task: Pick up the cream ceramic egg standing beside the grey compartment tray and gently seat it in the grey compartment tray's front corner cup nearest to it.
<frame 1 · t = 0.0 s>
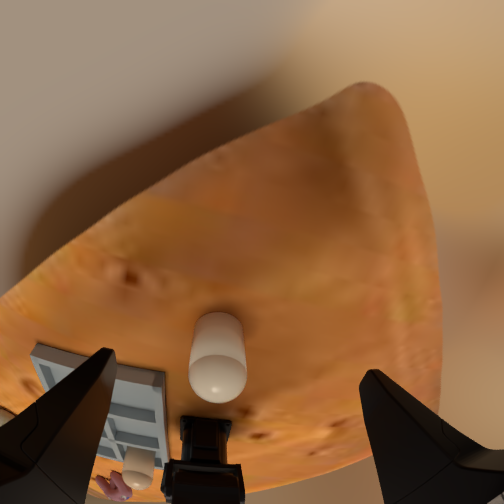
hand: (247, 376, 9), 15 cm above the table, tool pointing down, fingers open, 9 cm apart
sea urchin shell: (15, 419, 35), on the table
video game controller: (115, 476, 43), on the table
beige rounded cylinder: (141, 447, 35), resting on grey compartment tray
grey compartment tray: (73, 376, 28), on the table
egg: (218, 331, 27), on the table
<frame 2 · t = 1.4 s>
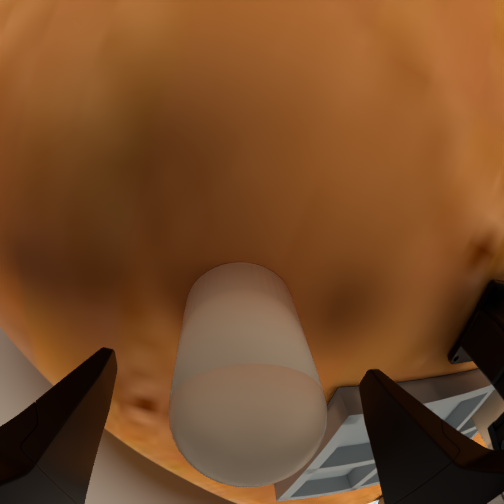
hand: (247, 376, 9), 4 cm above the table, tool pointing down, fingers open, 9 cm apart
beige rounded cylinder: (482, 396, 20), resting on grey compartment tray
grey compartment tray: (330, 463, 21), on the table
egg: (239, 309, 13), on the table
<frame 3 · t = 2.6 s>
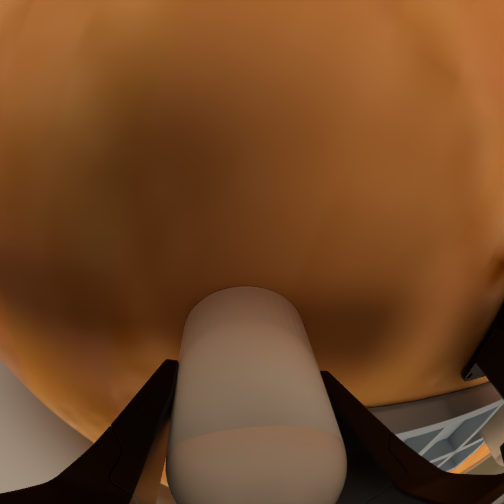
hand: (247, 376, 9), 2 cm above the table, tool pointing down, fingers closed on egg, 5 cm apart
beige rounded cylinder: (490, 407, 18), resting on grey compartment tray
grey compartment tray: (335, 478, 19), on the table
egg: (243, 337, 11), on the table, touching gripper
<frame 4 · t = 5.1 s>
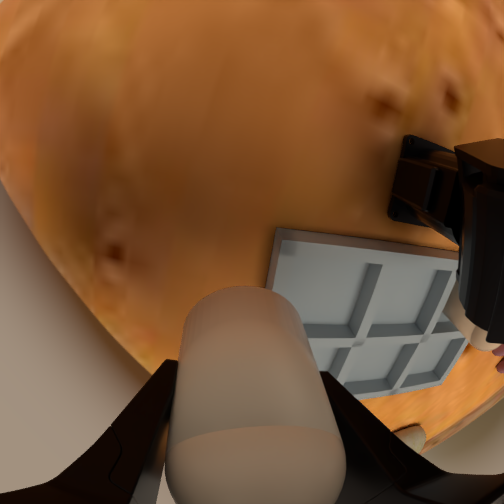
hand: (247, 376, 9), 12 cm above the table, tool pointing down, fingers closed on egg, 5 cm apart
sea urchin shell: (396, 436, 37), on the table
video game controller: (503, 345, 31), on the table
beige rounded cylinder: (456, 294, 24), resting on grey compartment tray
grey compartment tray: (299, 358, 25), on the table
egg: (243, 337, 11), point 10 cm above the table, touching gripper
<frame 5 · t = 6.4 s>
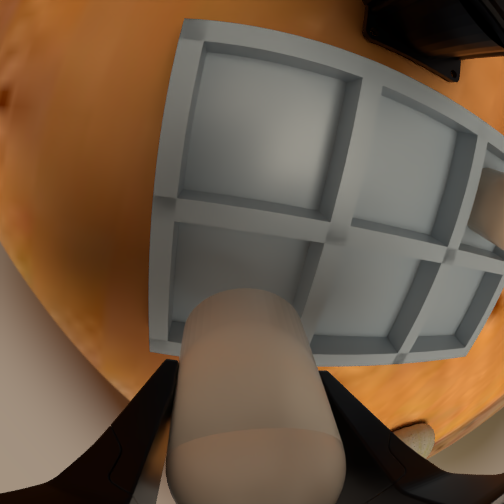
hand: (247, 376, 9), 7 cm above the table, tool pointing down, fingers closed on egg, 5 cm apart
sea urchin shell: (396, 437, 28), on the table
beige rounded cylinder: (484, 200, 15), resting on grey compartment tray
grey compartment tray: (237, 275, 16), on the table
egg: (243, 338, 11), point 5 cm above the table, touching gripper
when the fingers open (3 cm above the table, at t = 7.5 s): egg stays where it is, resting on grey compartment tray.
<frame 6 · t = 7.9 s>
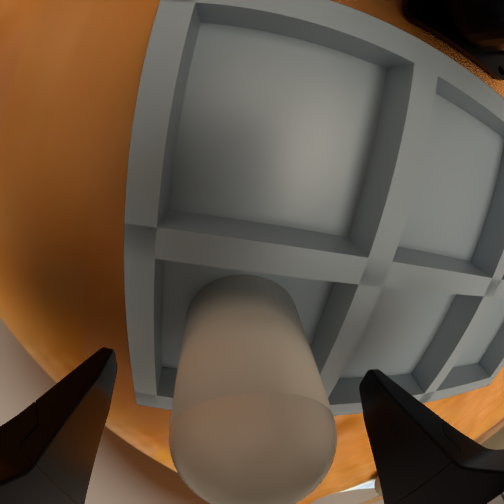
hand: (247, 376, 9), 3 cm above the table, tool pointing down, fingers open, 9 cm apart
grey compartment tray: (241, 316, 12), on the table
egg: (242, 323, 12), resting on grey compartment tray
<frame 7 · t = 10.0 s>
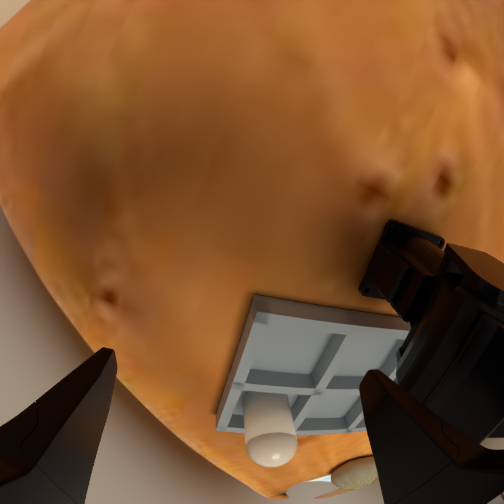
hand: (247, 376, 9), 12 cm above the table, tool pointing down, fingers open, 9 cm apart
sea urchin shell: (353, 463, 39), on the table
grey compartment tray: (265, 396, 27), on the table
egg: (265, 399, 27), resting on grey compartment tray
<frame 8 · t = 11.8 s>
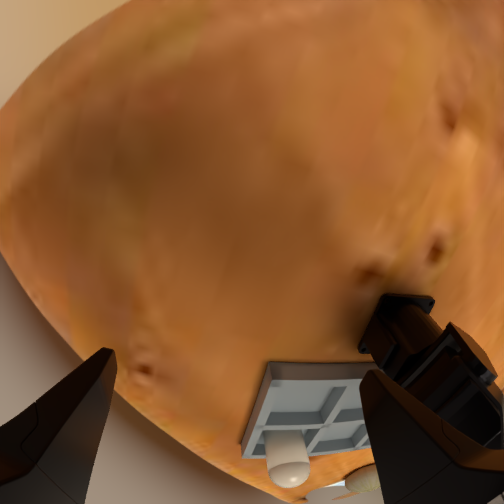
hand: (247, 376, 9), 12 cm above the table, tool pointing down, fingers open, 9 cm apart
sea urchin shell: (365, 469, 42), on the table
grey compartment tray: (281, 428, 30), on the table
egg: (282, 431, 30), resting on grey compartment tray
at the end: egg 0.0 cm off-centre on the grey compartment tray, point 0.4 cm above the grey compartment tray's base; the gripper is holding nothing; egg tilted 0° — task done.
